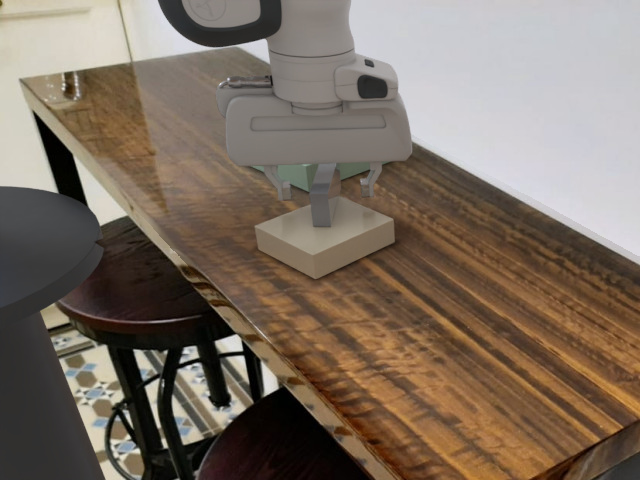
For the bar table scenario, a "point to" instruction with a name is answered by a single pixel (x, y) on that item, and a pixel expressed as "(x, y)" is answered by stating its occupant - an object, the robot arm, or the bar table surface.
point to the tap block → (325, 237)
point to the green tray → (314, 172)
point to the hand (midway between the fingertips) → (327, 197)
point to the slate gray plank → (325, 194)
